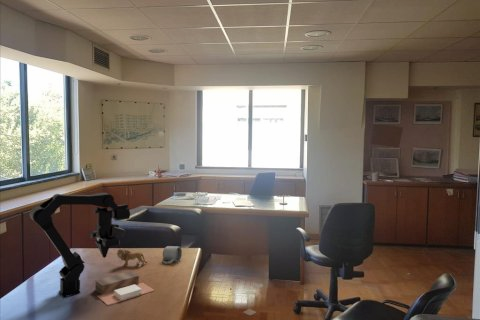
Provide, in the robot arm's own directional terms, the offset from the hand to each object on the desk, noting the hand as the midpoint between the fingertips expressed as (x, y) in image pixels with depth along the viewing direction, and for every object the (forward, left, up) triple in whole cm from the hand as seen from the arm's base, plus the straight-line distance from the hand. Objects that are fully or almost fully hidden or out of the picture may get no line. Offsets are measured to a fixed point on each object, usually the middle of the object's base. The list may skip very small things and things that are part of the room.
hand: (104, 257), depth 150 cm
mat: (+3, -15, -12) cm, 20 cm away
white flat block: (+3, -17, -11) cm, 20 cm away
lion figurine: (+20, +13, -12) cm, 27 cm away
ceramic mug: (+38, +6, -12) cm, 41 cm away
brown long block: (+3, -7, -12) cm, 14 cm away
